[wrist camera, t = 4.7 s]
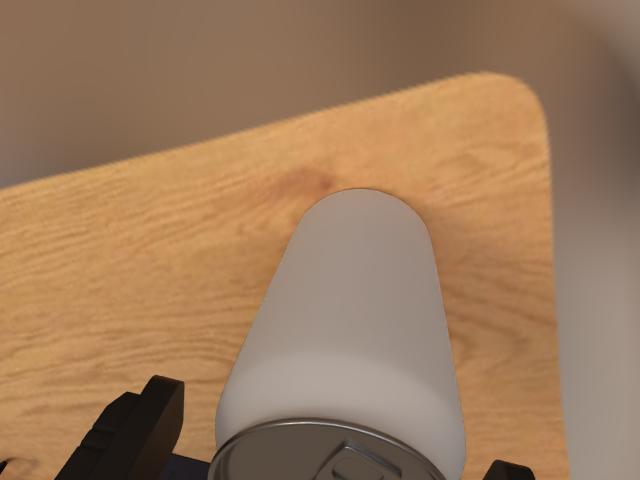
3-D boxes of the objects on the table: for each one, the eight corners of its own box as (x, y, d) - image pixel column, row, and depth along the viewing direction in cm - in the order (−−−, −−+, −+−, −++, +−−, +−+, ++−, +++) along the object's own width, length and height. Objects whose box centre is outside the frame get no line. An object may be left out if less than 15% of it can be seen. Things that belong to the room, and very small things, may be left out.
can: (269, 260, 21) (147, 504, 11) (343, 155, 18) (276, 352, 8) (375, 326, 22) (360, 613, 11) (462, 238, 19) (551, 515, 8)
